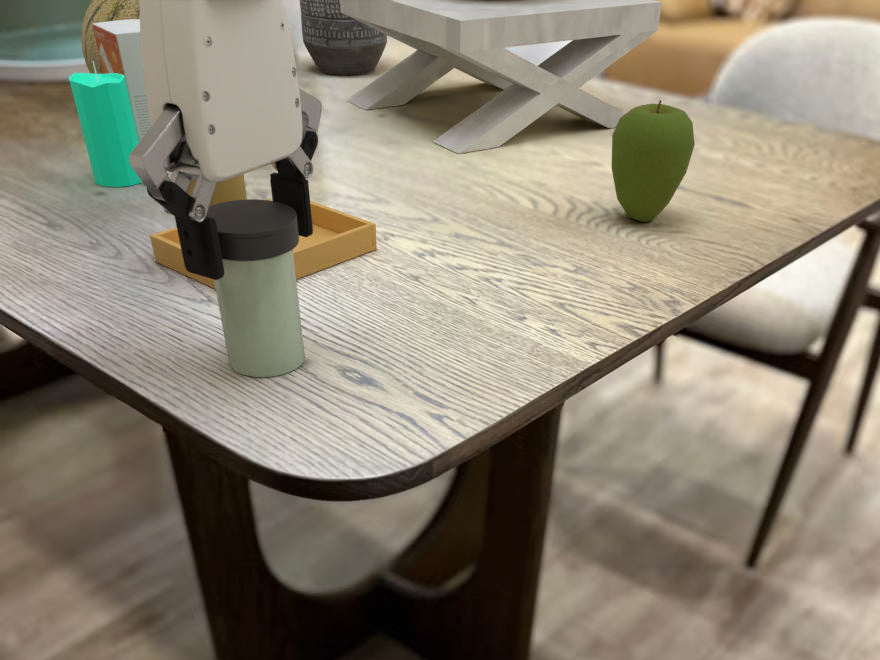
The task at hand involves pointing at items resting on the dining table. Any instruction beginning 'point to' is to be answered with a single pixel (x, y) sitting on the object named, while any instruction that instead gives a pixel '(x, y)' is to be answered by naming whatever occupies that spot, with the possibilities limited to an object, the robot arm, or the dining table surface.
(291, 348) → the jar
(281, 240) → the lid
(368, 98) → the x-leg display riser
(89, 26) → the cantaloupe
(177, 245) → the tray
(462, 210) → the dining table surface
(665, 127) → the apple
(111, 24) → the small box
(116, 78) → the candle
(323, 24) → the planter
